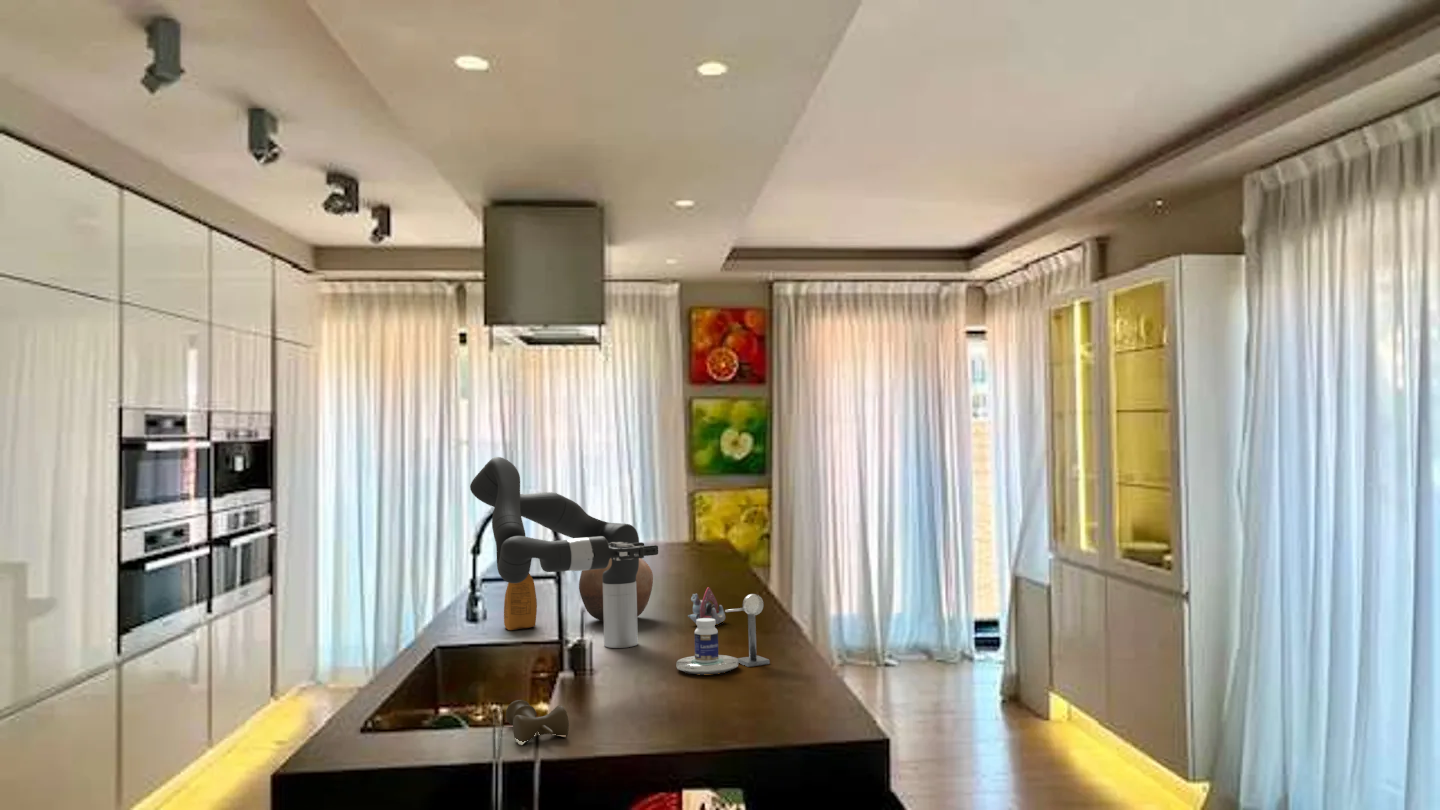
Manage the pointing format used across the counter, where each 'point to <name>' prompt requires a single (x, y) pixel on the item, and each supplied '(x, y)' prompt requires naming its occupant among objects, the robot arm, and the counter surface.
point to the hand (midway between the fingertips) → (650, 548)
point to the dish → (707, 665)
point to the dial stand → (752, 629)
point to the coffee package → (520, 605)
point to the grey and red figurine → (706, 608)
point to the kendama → (535, 721)
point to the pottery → (594, 589)
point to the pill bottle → (706, 641)
